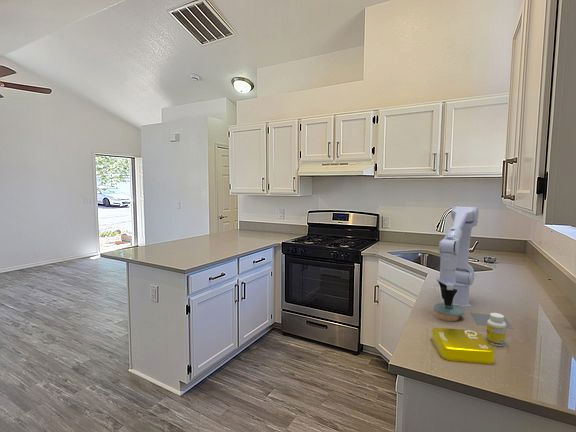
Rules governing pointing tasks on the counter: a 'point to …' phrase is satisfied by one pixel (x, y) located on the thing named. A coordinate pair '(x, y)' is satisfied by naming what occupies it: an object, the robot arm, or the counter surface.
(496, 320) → the supplement bottle
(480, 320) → the mat
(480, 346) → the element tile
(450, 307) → the lid
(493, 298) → the counter surface
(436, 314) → the bowl
